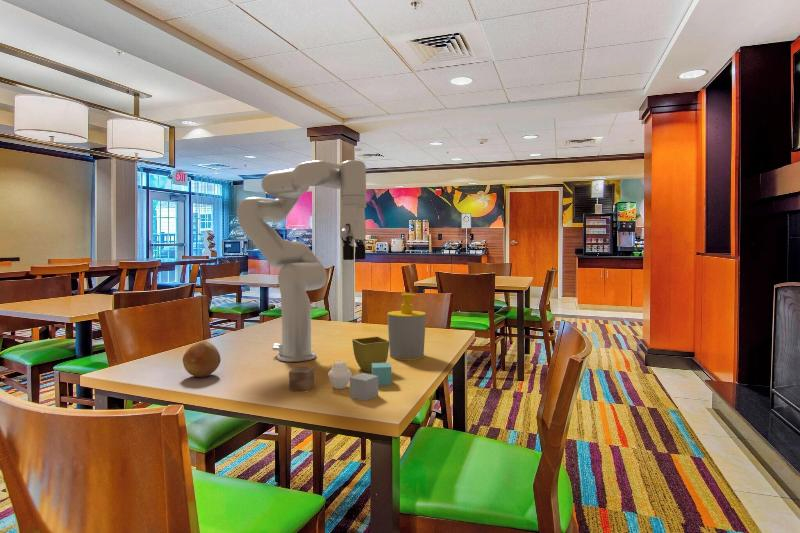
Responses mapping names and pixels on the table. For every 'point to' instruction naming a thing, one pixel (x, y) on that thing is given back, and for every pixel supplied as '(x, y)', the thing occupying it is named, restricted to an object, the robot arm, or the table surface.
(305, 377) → the walnut cube
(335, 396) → the table surface
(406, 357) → the soap bottle
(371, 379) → the grey cube
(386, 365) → the teal cube
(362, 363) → the flower pot
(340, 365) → the muffin
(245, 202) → the robot arm
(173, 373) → the table surface
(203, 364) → the onion
